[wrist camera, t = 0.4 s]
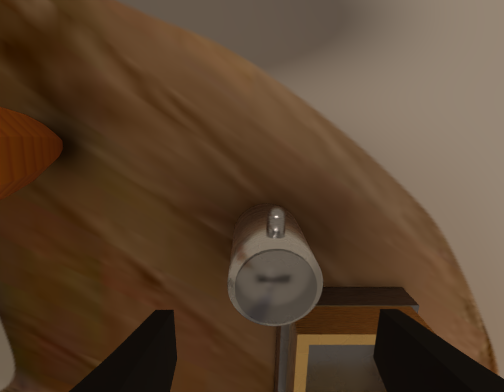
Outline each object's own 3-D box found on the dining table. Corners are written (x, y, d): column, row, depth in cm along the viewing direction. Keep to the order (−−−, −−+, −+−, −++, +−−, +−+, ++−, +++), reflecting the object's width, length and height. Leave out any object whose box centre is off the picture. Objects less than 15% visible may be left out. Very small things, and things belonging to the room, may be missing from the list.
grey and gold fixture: (379, 413, 23) (410, 481, 19) (272, 414, 23) (279, 483, 18) (402, 287, 20) (445, 333, 16) (278, 287, 20) (287, 333, 15)
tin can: (297, 265, 19) (320, 330, 13) (233, 264, 19) (227, 330, 13) (302, 183, 18) (331, 214, 12) (233, 182, 18) (226, 213, 12)
